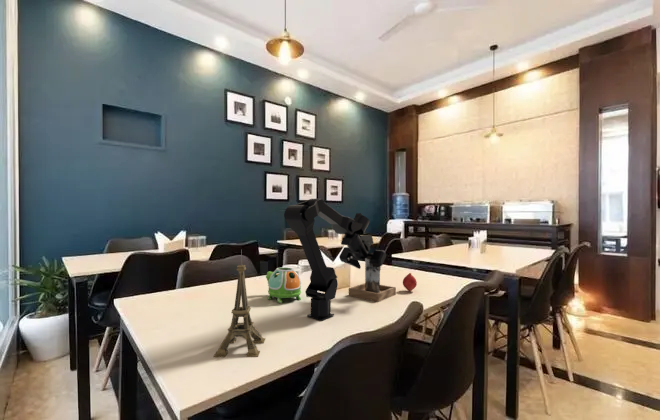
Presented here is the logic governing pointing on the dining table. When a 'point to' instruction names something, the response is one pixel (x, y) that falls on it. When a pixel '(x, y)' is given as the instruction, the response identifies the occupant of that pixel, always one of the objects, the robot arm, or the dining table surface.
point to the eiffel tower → (241, 328)
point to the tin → (371, 277)
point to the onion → (409, 282)
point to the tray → (361, 293)
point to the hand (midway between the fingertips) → (369, 269)
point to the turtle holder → (284, 284)
